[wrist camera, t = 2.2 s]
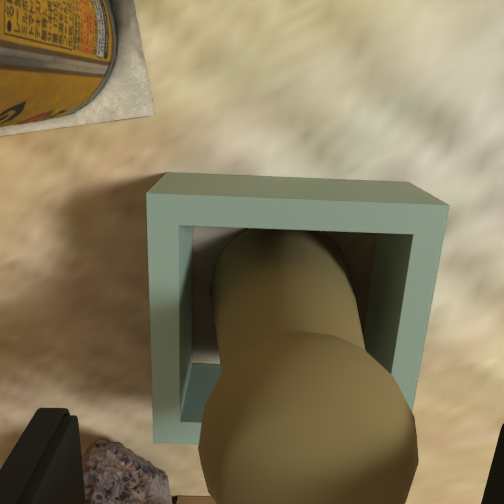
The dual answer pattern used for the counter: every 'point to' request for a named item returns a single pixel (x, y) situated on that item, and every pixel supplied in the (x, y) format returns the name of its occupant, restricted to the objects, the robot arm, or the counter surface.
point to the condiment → (70, 64)
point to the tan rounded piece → (299, 383)
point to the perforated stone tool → (121, 477)
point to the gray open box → (195, 500)
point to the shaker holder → (294, 218)
